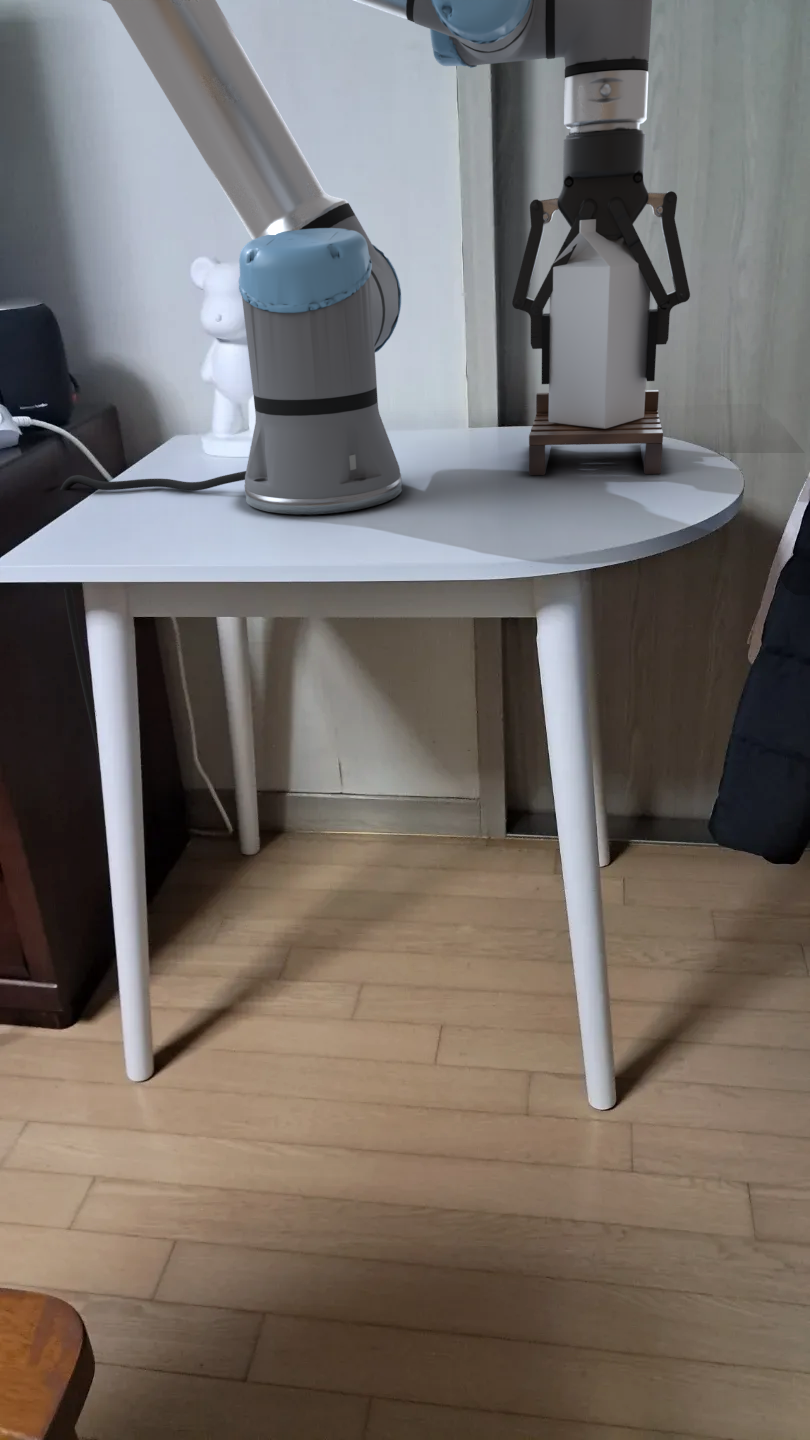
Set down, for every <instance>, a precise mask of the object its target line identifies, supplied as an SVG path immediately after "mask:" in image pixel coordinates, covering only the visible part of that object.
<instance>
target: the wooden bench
mask: <svg viewBox="0 0 810 1440" xmlns="http://www.w3.org/2000/svg"><path fill="white" fill-rule="evenodd" d="M659 394H660V390H659V389H645V408H644V417H643V418H640V419H637V420H634V421H630V422H627V423H623V424H620V425H617V426H613V427H610V428H606V429H603V428H594V427H585V426H576V425H567V424H559V423H551V422H549V392H536V395H535V397H536V399H535V400H536V401H535V417H534V419H533V422H532V426H531V429H530V432H529V435H528V476H545V475H546V472H547V467H548V463H549V458H550V453H551V449H552V446H571V445H573V446H574V445H575V446H576V445H581V446H582V445H634V444H635V445H637V444H639V445H640V452H641V460H642V467H643V474H644V475H661V473H662V463H663V461H662V459H663V442H664V432H663V428H662V424H661V419H660V415H659V411H658V410H659V397H660V396H659Z"/></svg>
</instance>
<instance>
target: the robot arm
mask: <svg viewBox="0 0 810 1440" xmlns="http://www.w3.org/2000/svg"><path fill="white" fill-rule="evenodd" d="M102 1H104V2H107V3H108V4H109V5H111V7H112V8H113V10H114V12H115V13H116V15H117V17H118V18H119V20H120V22H121V23H122V25H123V27H124V29H125V30H126V32H127V34H128V35H129V37H130V39H131V40H132V42H133V44H134V45H135V47H136V48H137V50H138V52H139V53H140V55H141V57H142V58H143V60H144V62H145V64H146V65H147V67H148V68H149V70H150V72H151V73H152V75H153V77H154V79H155V80H156V82H157V83H158V85H159V86H160V88H161V90H162V92H163V94H164V95H165V96H166V98H167V101H168V102H169V103H170V105H171V107H172V108H173V110H174V111H175V113H176V115H177V116H178V118H179V120H180V122H181V123H182V125H183V127H184V128H185V130H186V132H187V133H188V135H189V136H190V138H191V140H192V142H193V143H194V145H195V146H196V149H197V150H198V151H199V153H200V155H201V157H202V158H203V161H204V162H205V164H206V165H207V167H208V168H209V170H210V171H211V174H212V175H213V177H214V179H215V180H216V181H217V183H218V185H219V187H220V188H221V190H222V191H223V193H224V195H225V196H226V198H227V200H228V202H229V203H230V204H231V206H232V208H233V210H234V211H235V213H236V215H237V217H238V218H239V220H240V221H241V223H242V225H243V226H244V228H245V230H246V232H247V233H248V235H249V237H250V238H251V240H250V241H248V242H247V243H245V245H243V247H242V249H241V251H240V253H239V260H238V263H239V277H238V290H239V293H240V296H241V299H242V300H241V301H242V308H243V310H242V311H243V316H244V317H243V318H244V327H245V334H246V342H247V353H248V361H249V369H250V379H251V386H252V387H251V388H252V395H253V404H254V413H255V423H254V428H253V433H252V437H251V438H252V439H251V444H250V450H249V454H248V460H247V463H246V470H243V471H239V472H235V473H229V474H225V475H220V476H217V477H214V478H210V479H206V480H202V481H183V480H177V479H172V478H141V479H140V478H139V479H130V480H129V479H128V480H116V481H103V480H97V479H94V478H90V477H88V476H86V475H81V474H75V475H71V476H69V477H67V479H66V480H65V481H64V482H63V483H62V485H61V487H60V488H59V489H60V491H67V490H70V489H71V488H72V487H73V486H74V485H77V484H79V485H83V486H87V487H88V488H93V489H96V490H101V491H117V490H130V489H140V488H141V489H142V488H168V489H169V488H170V489H176V490H181V491H187V492H188V491H189V492H191V491H203V490H208V489H212V488H215V487H218V486H223V485H226V484H232V483H236V482H241V481H244V492H245V493H244V494H245V501H246V503H247V505H249V506H251V507H252V508H254V509H257V510H259V511H262V512H267V513H275V514H285V515H323V514H336V513H345V512H351V511H356V510H361V509H366V508H370V507H371V508H372V507H374V506H378V505H381V504H384V503H387V502H390V501H391V500H393V499H395V498H396V497H397V496H399V495H400V494H401V493H402V489H403V488H402V487H403V485H402V473H401V469H400V465H399V462H398V460H397V457H396V454H395V452H394V448H393V447H392V442H391V441H390V439H389V436H388V433H387V430H386V428H385V425H384V423H383V419H382V417H381V414H380V410H379V401H378V383H377V382H378V381H377V366H376V364H377V363H376V353H378V352H379V351H380V350H381V349H382V348H383V347H384V346H385V345H386V343H388V341H389V340H390V338H391V337H392V335H393V334H394V332H395V329H396V327H397V324H398V322H399V318H400V313H401V308H402V289H401V284H400V279H399V277H398V274H397V271H396V269H395V268H394V266H393V264H392V261H390V259H389V257H387V256H386V255H385V253H384V252H383V251H382V250H380V249H379V248H378V247H377V246H376V245H374V244H373V243H372V242H371V239H370V238H369V236H368V235H367V232H366V231H365V228H364V227H363V226H362V224H361V222H360V220H359V219H358V217H357V215H356V214H355V212H354V210H353V209H352V206H351V204H350V203H349V201H348V200H347V199H345V198H340V197H337V196H333V195H329V193H327V192H325V190H324V189H323V187H322V185H321V183H320V181H319V180H318V177H317V176H316V174H315V173H314V171H313V169H312V167H311V165H310V163H309V162H308V160H307V158H306V156H305V154H304V152H303V150H301V148H300V146H299V144H298V142H297V141H296V139H295V137H294V136H293V133H292V132H291V130H290V128H289V127H288V125H287V123H286V122H285V120H284V118H283V116H282V114H281V113H280V111H279V109H278V107H277V106H276V104H275V102H274V101H273V99H272V97H271V95H270V93H269V92H268V89H267V88H266V87H265V84H264V82H263V80H261V77H260V76H259V74H258V72H257V71H256V69H255V66H254V65H253V63H252V62H251V60H250V58H249V56H248V55H247V53H246V51H245V49H244V48H243V46H242V44H241V42H240V40H239V39H238V37H237V35H236V34H235V32H234V30H233V28H232V26H231V25H230V23H229V21H228V19H227V18H226V16H225V14H224V12H223V10H222V9H221V7H220V5H219V4H218V1H217V0H102ZM352 1H353V2H356V3H359V4H360V5H363V6H367V7H370V8H373V9H376V10H378V11H381V12H384V13H387V14H390V15H393V16H396V17H397V18H398V17H399V18H402V19H404V20H407V21H408V22H409V21H410V22H412V23H414V24H415V25H419V26H421V27H424V28H426V29H429V35H430V43H431V47H432V53H433V57H434V59H435V61H436V62H437V63H438V64H439V65H440V66H443V67H468V68H469V69H472V68H476V67H477V66H482V65H491V64H501V63H513V62H523V61H531V60H532V61H533V60H541V59H542V60H543V59H547V60H552V59H558V58H559V59H561V58H563V60H564V68H565V69H564V79H563V80H564V82H563V83H564V84H563V86H564V88H563V89H564V90H563V125H564V127H565V128H566V129H568V130H570V131H569V132H568V135H566V136H565V138H564V139H563V153H562V156H563V158H562V159H563V161H562V164H563V165H562V174H563V175H562V186H561V187H562V188H561V191H560V193H559V195H558V197H555V198H549V199H539V198H538V199H533V200H532V201H531V202H530V204H529V216H530V217H529V218H530V229H529V233H528V237H527V242H526V246H525V249H524V253H523V257H522V261H521V266H520V268H519V269H520V270H519V272H518V278H517V280H516V281H517V282H516V285H515V290H514V293H513V297H512V307H513V308H514V309H515V310H519V311H522V312H525V313H527V314H528V315H529V318H530V346H531V349H532V350H541V385H549V343H550V312H548V313H544V309H545V307H546V305H547V303H548V301H549V300H550V295H551V293H552V291H553V267H556V266H561V265H566V264H567V263H568V261H569V259H570V257H571V255H572V253H573V251H574V249H575V247H576V245H577V244H576V245H575V246H574V247H573V248H572V251H571V252H569V253H568V254H566V255H565V256H564V257H562V258H561V259H559V260H558V261H556V259H557V258H558V257H559V256H560V255H561V254H562V253H563V251H564V250H565V249H566V248H567V247H568V246H569V244H570V243H571V242H572V241H573V240H574V239H575V237H576V236H577V235H578V234H579V233H580V220H590V219H596V232H597V233H598V234H600V235H601V236H603V237H604V238H606V239H607V240H618V239H620V238H622V237H624V239H625V241H626V243H627V245H628V247H629V249H630V251H631V253H632V255H633V257H634V259H635V261H636V262H637V263H638V267H639V269H640V271H641V273H642V275H643V277H644V279H645V281H646V283H647V285H648V287H649V289H650V294H651V295H652V297H653V300H654V301H655V304H656V308H650V309H649V328H648V348H647V368H646V382H655V380H656V379H655V377H656V360H657V359H656V358H657V345H667V344H668V340H669V336H670V335H669V333H670V319H671V318H670V316H671V315H670V314H671V311H672V310H673V308H674V307H675V306H677V305H680V304H683V303H686V302H688V301H689V300H690V297H691V291H690V287H689V281H688V278H687V272H686V268H685V262H684V257H683V252H682V247H681V243H680V237H679V234H678V228H677V224H676V212H677V211H676V210H677V205H678V204H677V203H678V195H677V193H676V192H675V191H672V190H670V191H667V192H649V191H648V189H647V187H646V183H645V166H646V165H645V162H646V161H645V160H646V141H647V140H646V139H647V136H646V135H647V134H646V133H645V131H644V130H643V129H640V125H641V124H643V123H645V122H646V121H647V117H648V96H649V95H648V94H649V93H648V92H649V62H650V44H651V28H652V26H651V25H652V8H653V0H352ZM647 205H649V206H650V207H651V208H652V214H653V215H654V216H655V217H656V218H660V226H661V231H662V236H663V240H664V247H665V250H666V254H667V259H668V265H669V270H670V275H671V279H672V283H673V288H674V290H672V291H670V292H667V291H666V290H665V288H664V285H663V283H662V281H661V279H660V277H659V275H658V273H657V271H656V269H655V267H654V264H653V262H652V263H651V261H652V260H651V258H650V257H649V255H648V253H647V251H646V249H645V247H644V244H643V242H642V241H641V239H640V237H639V234H638V232H637V231H636V228H635V226H634V223H635V222H636V221H637V219H638V218H639V217H640V215H641V214H642V213H643V211H644V209H645V208H646V206H647ZM557 210H559V212H560V213H561V215H562V217H563V218H564V220H565V221H566V222H567V224H568V226H569V227H570V230H569V232H568V234H567V235H566V237H565V239H564V241H563V243H562V245H561V247H560V249H559V251H558V253H557V255H556V257H555V258H554V261H553V263H552V264H553V265H552V264H551V265H552V267H551V266H550V267H551V269H550V268H549V271H548V273H547V274H546V277H544V280H543V282H542V284H541V286H540V288H539V290H538V292H537V294H536V295H535V298H531V297H529V295H528V294H529V291H530V288H531V284H532V281H533V275H534V271H535V267H536V264H537V261H538V256H539V252H540V248H541V244H542V241H543V237H544V232H545V225H547V224H549V223H550V222H552V220H553V215H554V213H555V212H556V211H557ZM649 258H650V259H649ZM650 260H651V261H650ZM555 261H556V262H555ZM554 262H555V263H554ZM63 591H64V597H65V603H66V604H65V605H66V611H67V618H68V623H69V629H70V634H71V639H72V644H73V650H74V654H75V660H76V665H77V669H78V673H79V678H80V682H81V687H82V692H83V697H84V701H85V705H86V710H87V714H88V719H89V723H90V728H91V733H92V736H93V741H94V745H95V750H96V754H97V758H98V760H99V753H98V744H97V733H96V723H95V713H94V707H95V703H94V699H93V694H92V689H91V686H90V681H89V676H88V671H87V666H86V661H85V656H84V651H83V646H82V641H81V636H80V631H79V624H78V618H77V613H76V607H75V600H74V593H73V588H63ZM93 703H94V704H93Z"/></svg>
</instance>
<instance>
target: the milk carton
mask: <svg viewBox="0 0 810 1440" xmlns="http://www.w3.org/2000/svg"><path fill="white" fill-rule="evenodd" d="M576 244H577V245H576ZM575 245H576V247H575V249H574V251H573V253H572V255H571V257H570V259H569V261H568V263H567V264H566V265H561V266H556V267H553V291H552V293H551V295H550V297H549V313H550V343H549V384H548V393H549V422H551V423H559V424H567V425H576V426H585V427H594V428H603V429H606V428H610V427H613V426H617V425H620V424H623V423H627V422H630V421H634V420H637V419H640V418H643V417H644V408H645V390H646V389H647V388H646V387H647V380H646V368H647V348H648V328H649V309H651V308H650V307H651V291H650V289H649V287H648V285H647V283H646V281H645V279H644V277H643V275H642V273H641V271H640V269H639V267H638V263H637V262H636V261H635V259H634V257H633V255H632V253H631V251H630V249H629V247H628V245H627V243H626V241H625V239H624V237H622V238H620V239H618V240H607V239H606V238H604V237H603V236H601V235H600V234H598V233H597V232H596V219H590V220H580V233H579V234H578V235H577V236H576V237H575V239H574V240H573V241H572V242H571V243H570V244H569V246H568V247H567V248H566V249H565V250H564V251H563V253H562V254H561V255H560V256H559V257H558V258H557V259H556V258H555V259H556V261H558V260H559V259H561V258H562V257H564V256H565V255H566V254H568V253H569V252H571V251H572V248H573V247H574V246H575ZM649 259H650V261H651V263H652V264H653V260H651V258H650V257H649ZM554 261H555V260H554ZM554 261H553V263H555V262H556V261H555V262H554ZM553 263H552V264H551V265H550V268H549V270H550V269H551V267H552V265H553Z"/></svg>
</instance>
